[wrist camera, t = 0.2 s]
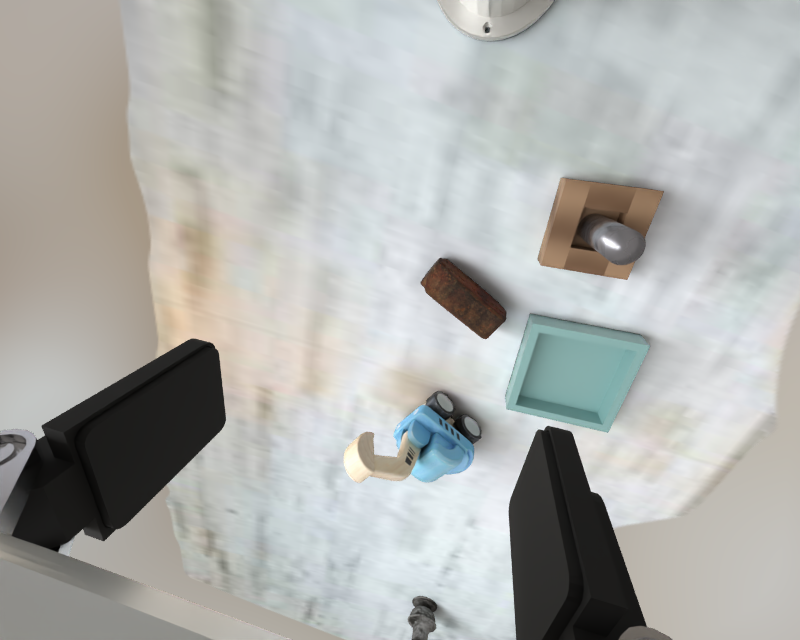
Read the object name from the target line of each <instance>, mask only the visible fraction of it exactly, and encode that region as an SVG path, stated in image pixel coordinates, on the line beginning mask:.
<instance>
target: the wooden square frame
mask: <svg viewBox="0 0 800 640" xmlns="http://www.w3.org/2000/svg"><path fill="white" fill-rule="evenodd" d="M663 193H664V191H658V190H652V189H645V188H637V187H629V186H621V185H613V184H606V183H598V182H590V181H582V180H574V179H567V178H561V179H560V183H559V186H558V190H557V193H556V197H555V200H554V203H553V207H552V210H551V214H550V217H549V221H548V224H547V228H546V231H545V234H544V238H543V241H542V245H541V248H540V252H539V255H538V261H539V263H540V265H541V266H547V267H553V268H559V269H565V270H571V271H577V272H583V273H589V274H595V275H601V276H607V277H613V278H619V279H625V280H627V279H628V277H629V275H630V272H631V270H632V267H633V265H634V263H635V261H634V262H633V263H630V264H627V265H616V264H613V263H611V262H610V261H609V260H607V259H606V258H605V257H604V256H602V255H601V254H600V253H599V252H597V251H596V250H595V249H594V248H592V247H591V246H590V245H589V244H587V243H586V242H585V241H584V240H583V239H581V238H580V236H579V234H578V225H579V223H580V222H581V220H582V219H583V218H584V217H586V216H588V215H590V214H601V215H603V216H605V217H607V218H609V219H612V220H614V221H616V222H618V223H620V224H623V225H625V226H627V227H629V228H631V229H634V230H636V231H638V232H639V233H641V234H642V235H643V237H644V238H645V236H646V234H647V231H648V229H649V226H650V224H651V222H652V219H653V217H654V214H655V212H656V209H657V207H658V205H659V202H660V200H661V197H662V195H663Z"/></svg>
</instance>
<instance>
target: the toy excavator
mask: <svg viewBox="0 0 800 640" xmlns="http://www.w3.org/2000/svg"><path fill="white" fill-rule="evenodd" d="M447 396H448V395H446V394H445V393H443V392H441V391H437V392H435V393H434V394H433V395H432V396H431V397H429V398H428V399H427V401H426V403H425V404H423V405H421V406H419V407H418V408H417V409H416V410H414V411H413V412H412V413H411V414H409V415H408V416H407V417H406V418H405V419H404V420H403V421H401V422H400V423H399V424H398V425H397V427H396V429H395V432H394V438H395V439H396V440H397V447H398V449H399V452H398V455H397V457H389V456H379V455H374V444H373V438H374V433H372V432H365V433H363V434H361V435H360V436H359V437H358V438H356V439H355V440H354V441H353V442H352V443H351V444H350V445H349V446H348V447H347V448H346V450H345V453H344V465H345V469H346V471H347V473H348V475H349V476H350V477H351V478H352V479H353V480H354V481H355V482H357V483H361V482H362V481H364V480H365V479H366V478H367V477H369V476H372V477H377V478H381V479H386V480H391V481H402V480H404V479H406V478H407V477H408V476H409V475H410V474H412V475H413V476H414V477H415V478H417V479H418V480H420V481H422V482H433V481H435V480H437V479H438V478H440V477H441V476H443V475H444V474H456V473H460V472H462V471H464V470H466V469H467V468H468V467H469V466H470V465H471V463H472V461H473V458H474V446H473V444H474V443H475V442H477V441H478V440H479V439H480V438H481V436H480V435H481V428H480V426H479V425H478V423H477V422H476V421H475V420H473V419H472V418H470V417H469V416H467V415H462V416H461V417H460V418H458V419H457V420H456V421H454V420H453V419H452V418H451V416H452V415H454V411H455V406H454V404H453V402H452V400H449V399H448V397H447Z"/></svg>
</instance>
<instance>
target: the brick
mask: <svg viewBox="0 0 800 640" xmlns="http://www.w3.org/2000/svg"><path fill="white" fill-rule="evenodd" d="M421 285H422V286H423V287H424V288H425V291H426V293H427V294H428V295H429V296H430V297H432V298H433V299H434V300H435V301H437V302H438V303H439V304H440V305H441V306H442V307H444V308H445V309H446V310H447V311H449V312H450V313H451V314H452V315H454V316H455V317H456V318H457V319H459V320H460V321H461V322H462V323H464V324H465V325H466V326H468V327H469V328H470V329H471V330H472V331H474V332H475V333H476V334H477V335H479V336H480V337H481V338H483V339H487V338H488V337H489V336H490V335H491V334H492V333H493V332H494V331H495V330H496V329H497V328H498V327H499V326H500V325H501V324H502V323H504V322H505V320H506V311H505V309H504V308H503V307H502V306H501V305H500V304H499V302H497V301H496V300H495V299H494V298H493V297H491V296H490V295H489V294H488V293H487V292H486V291H485V290H484V289H483V288H481V287H480V286H479V285H478V284H477V283H476V282H474V281H473V280H472V279H471V278H469V277H468V276H467V275H466V274H465V273H463V272H462V271H461V270H460V269H459V268H457V267H456V266H455V265H454V264H452V263H451V262H450V261H449V260H448V259H443V258H439V259H438V261H437V262H436V263H435V264H434V265H433V266H432V267H431V269H430V270H429V271H428V272H427V274H426V275H425V277H424V278H423V279H422V281H421Z"/></svg>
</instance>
